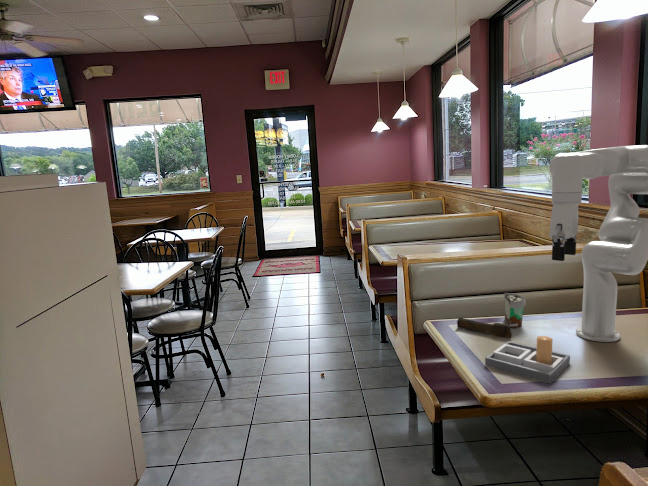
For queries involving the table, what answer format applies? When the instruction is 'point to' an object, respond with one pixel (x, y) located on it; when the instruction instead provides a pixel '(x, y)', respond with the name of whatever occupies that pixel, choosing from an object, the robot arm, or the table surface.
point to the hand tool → (485, 327)
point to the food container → (514, 309)
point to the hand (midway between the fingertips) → (563, 257)
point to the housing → (526, 362)
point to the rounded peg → (544, 350)
